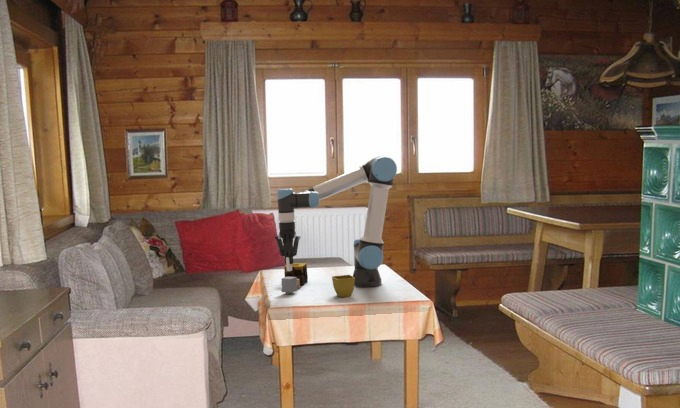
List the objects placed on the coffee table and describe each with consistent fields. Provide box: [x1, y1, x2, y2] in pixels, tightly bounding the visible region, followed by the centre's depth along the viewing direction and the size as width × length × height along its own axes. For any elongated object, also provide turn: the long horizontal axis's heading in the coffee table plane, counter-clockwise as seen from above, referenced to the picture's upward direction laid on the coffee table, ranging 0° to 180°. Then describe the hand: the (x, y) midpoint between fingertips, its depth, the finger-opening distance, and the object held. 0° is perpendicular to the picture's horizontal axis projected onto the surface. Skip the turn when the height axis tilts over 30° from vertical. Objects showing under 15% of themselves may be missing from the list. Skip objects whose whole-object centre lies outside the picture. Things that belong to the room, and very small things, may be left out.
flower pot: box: [331, 274, 355, 298], centre depth 295 cm, size 9×9×9 cm
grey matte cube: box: [281, 276, 298, 294], centre depth 303 cm, size 5×5×7 cm
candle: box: [283, 262, 309, 287], centre depth 327 cm, size 10×10×10 cm
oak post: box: [297, 279, 301, 291], centre depth 313 cm, size 3×3×5 cm
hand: (289, 270), depth 303 cm, fingers closed
